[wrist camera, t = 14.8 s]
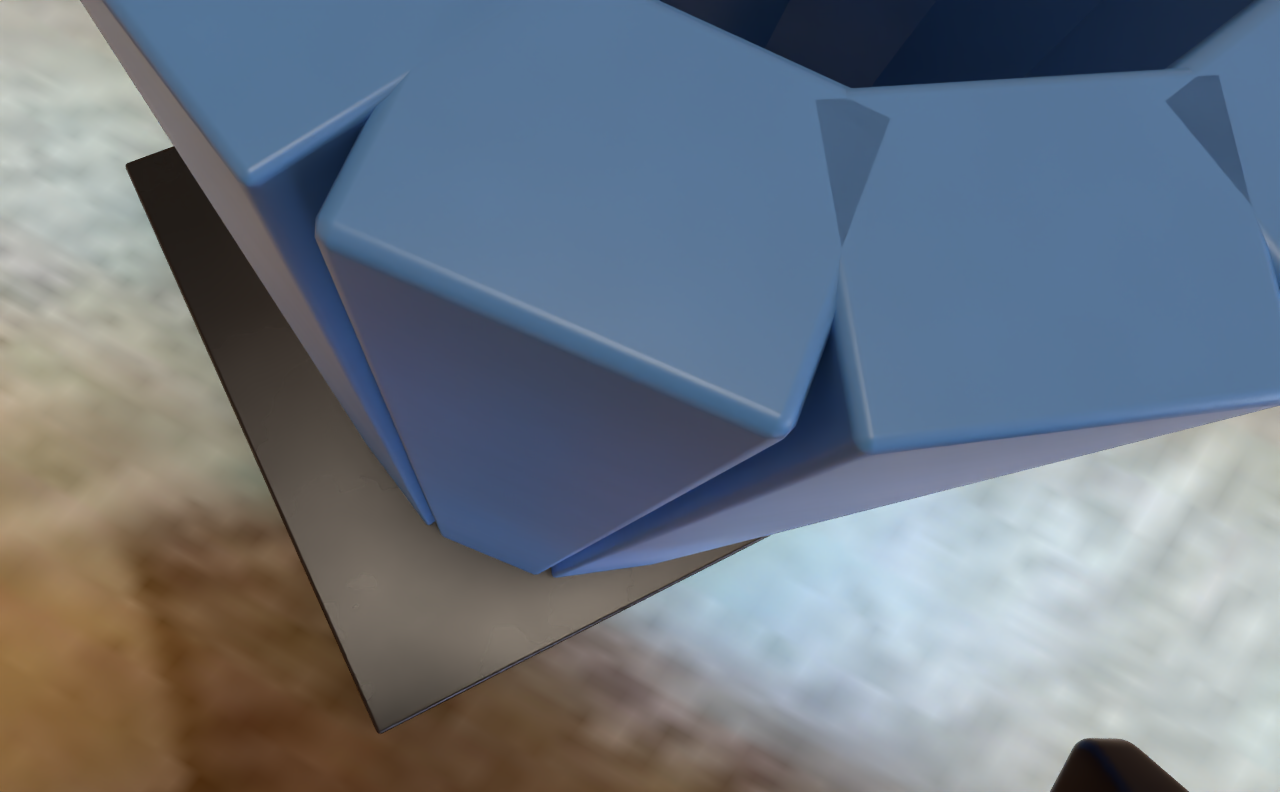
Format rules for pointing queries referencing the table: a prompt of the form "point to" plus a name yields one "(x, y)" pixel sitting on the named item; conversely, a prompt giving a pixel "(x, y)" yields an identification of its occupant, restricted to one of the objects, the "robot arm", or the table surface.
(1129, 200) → the blue fluted tube
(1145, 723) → the table surface
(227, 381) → the peg stand
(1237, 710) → the table surface
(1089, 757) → the robot arm
